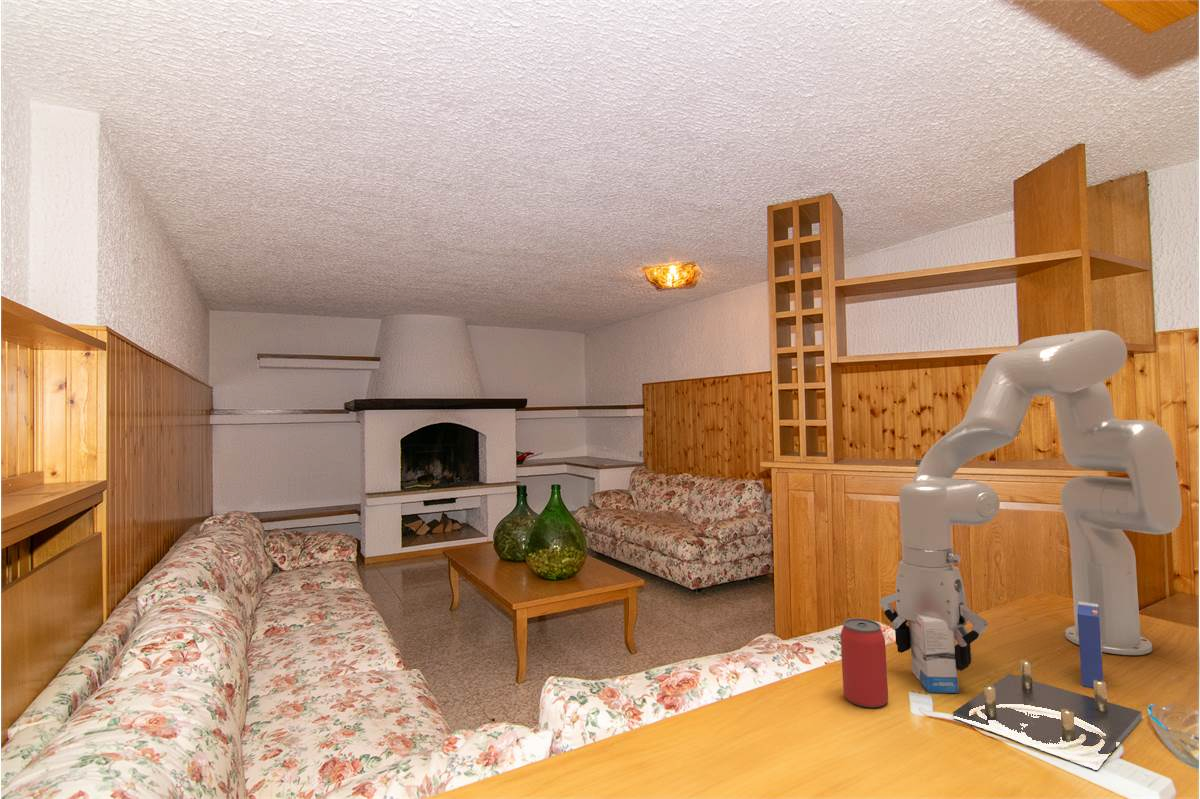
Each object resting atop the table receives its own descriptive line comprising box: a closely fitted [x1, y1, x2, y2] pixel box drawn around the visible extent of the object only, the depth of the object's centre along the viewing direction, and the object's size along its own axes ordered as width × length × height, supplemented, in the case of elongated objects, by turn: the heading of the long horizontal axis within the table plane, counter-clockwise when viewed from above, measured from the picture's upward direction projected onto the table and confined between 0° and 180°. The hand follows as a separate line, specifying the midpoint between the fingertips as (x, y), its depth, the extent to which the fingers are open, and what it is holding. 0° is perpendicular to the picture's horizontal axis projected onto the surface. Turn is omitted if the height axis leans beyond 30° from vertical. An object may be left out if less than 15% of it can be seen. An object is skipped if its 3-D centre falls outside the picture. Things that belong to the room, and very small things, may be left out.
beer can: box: [840, 617, 889, 708], centre depth 96 cm, size 7×7×12 cm
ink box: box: [908, 614, 960, 694], centre depth 101 cm, size 9×5×12 cm, turn 168°
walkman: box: [1077, 601, 1104, 689], centre depth 100 cm, size 8×3×12 cm, turn 141°
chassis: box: [952, 659, 1143, 754], centre depth 88 cm, size 20×17×5 cm
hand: (932, 659), depth 101 cm, fingers closed on ink box, 9 cm apart
